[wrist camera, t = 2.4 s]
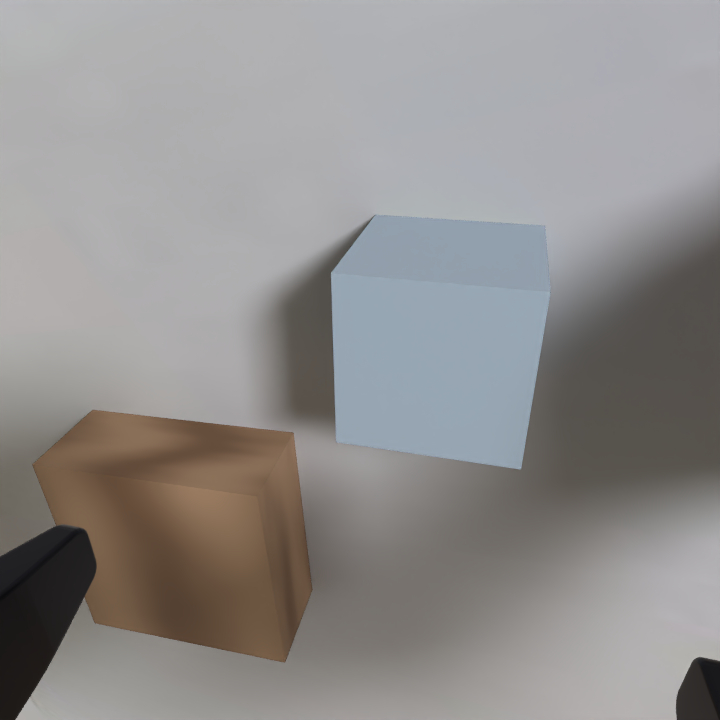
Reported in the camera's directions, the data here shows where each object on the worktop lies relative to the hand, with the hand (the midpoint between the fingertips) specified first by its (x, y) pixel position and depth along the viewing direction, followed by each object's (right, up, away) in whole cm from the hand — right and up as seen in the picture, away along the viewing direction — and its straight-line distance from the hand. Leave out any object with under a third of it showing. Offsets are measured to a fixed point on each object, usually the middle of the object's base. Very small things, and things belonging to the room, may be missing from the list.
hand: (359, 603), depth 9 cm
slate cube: (+3, +6, +10) cm, 12 cm away
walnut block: (-7, -3, +18) cm, 19 cm away
